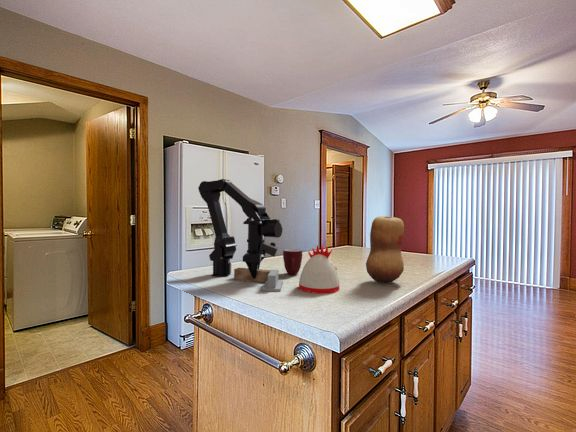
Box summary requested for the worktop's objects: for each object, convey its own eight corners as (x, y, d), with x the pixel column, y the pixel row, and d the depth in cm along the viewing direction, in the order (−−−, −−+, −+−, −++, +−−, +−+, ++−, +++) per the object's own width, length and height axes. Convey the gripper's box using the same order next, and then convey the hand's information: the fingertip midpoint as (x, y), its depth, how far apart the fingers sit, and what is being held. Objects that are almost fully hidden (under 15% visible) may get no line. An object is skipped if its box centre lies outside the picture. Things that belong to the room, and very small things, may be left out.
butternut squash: (396, 289, 107) (397, 216, 106) (360, 283, 115) (361, 216, 114) (408, 281, 118) (409, 216, 117) (374, 276, 126) (375, 215, 125)
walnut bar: (234, 279, 119) (234, 269, 119) (238, 277, 122) (238, 267, 122) (273, 283, 114) (273, 272, 114) (276, 280, 117) (276, 270, 117)
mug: (304, 277, 124) (304, 252, 123) (284, 277, 123) (284, 252, 122) (300, 271, 134) (300, 249, 134) (281, 272, 133) (282, 249, 133)
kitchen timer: (338, 295, 99) (339, 248, 98) (296, 292, 101) (296, 246, 101) (339, 284, 112) (340, 243, 112) (302, 282, 115) (303, 242, 115)
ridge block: (262, 291, 102) (262, 276, 102) (266, 282, 114) (266, 269, 114) (280, 291, 102) (280, 276, 101) (282, 282, 114) (283, 269, 113)
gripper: (274, 239, 108) (273, 283, 108) (278, 234, 127) (278, 272, 127) (242, 238, 109) (242, 282, 109) (251, 234, 127) (251, 271, 128)
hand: (255, 277), depth 118 cm, fingers closed on walnut bar, 4 cm apart
